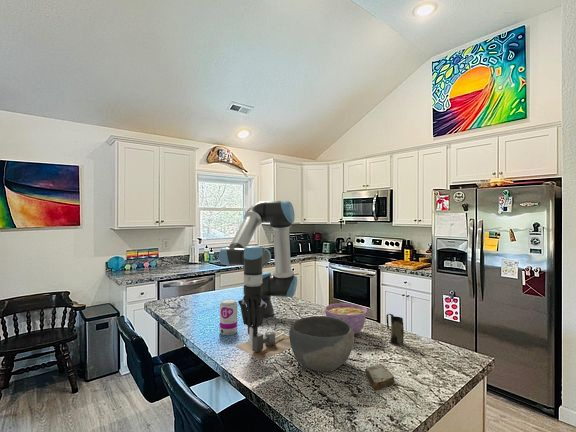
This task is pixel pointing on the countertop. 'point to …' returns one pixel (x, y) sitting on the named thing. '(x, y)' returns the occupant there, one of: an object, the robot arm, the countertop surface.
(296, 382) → the countertop surface
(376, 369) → the stone
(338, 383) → the countertop surface
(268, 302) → the robot arm
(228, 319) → the supplement can
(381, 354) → the countertop surface
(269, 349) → the board
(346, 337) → the bowl
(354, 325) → the bowl of food
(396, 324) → the mug
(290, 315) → the countertop surface
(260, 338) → the peg key
